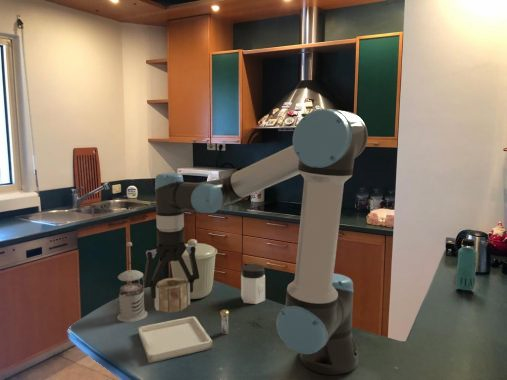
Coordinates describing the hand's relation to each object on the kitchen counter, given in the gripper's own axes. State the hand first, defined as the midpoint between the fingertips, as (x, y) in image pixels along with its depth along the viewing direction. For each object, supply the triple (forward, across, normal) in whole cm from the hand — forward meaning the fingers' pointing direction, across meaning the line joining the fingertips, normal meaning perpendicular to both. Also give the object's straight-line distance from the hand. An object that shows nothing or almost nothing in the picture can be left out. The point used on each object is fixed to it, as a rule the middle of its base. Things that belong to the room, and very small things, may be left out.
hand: (172, 305), depth 117 cm
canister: (+11, -15, -31) cm, 36 cm away
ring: (0, 0, 0) cm, 0 cm away
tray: (+11, 0, 0) cm, 11 cm away
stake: (+11, -15, +2) cm, 19 cm away
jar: (+11, -33, -17) cm, 39 cm away
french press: (+11, +8, -23) cm, 27 cm away
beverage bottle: (+10, -109, +10) cm, 110 cm away
